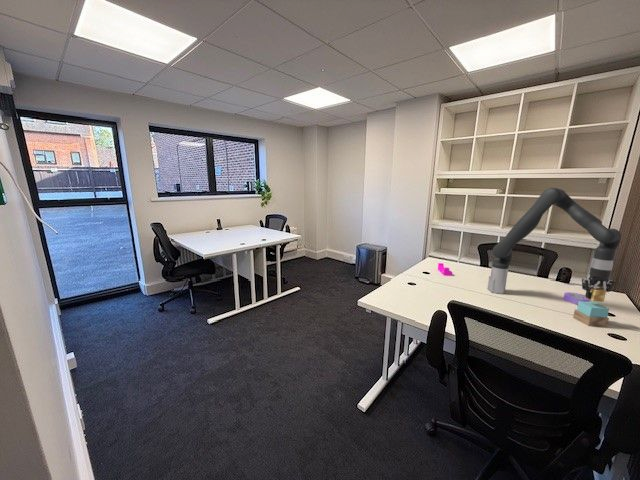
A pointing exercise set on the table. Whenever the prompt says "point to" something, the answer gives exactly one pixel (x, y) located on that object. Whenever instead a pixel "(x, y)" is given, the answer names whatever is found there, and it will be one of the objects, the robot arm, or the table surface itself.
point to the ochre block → (598, 294)
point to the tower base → (590, 319)
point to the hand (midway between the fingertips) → (594, 298)
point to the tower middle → (593, 309)
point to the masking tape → (575, 297)
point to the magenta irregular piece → (444, 270)
